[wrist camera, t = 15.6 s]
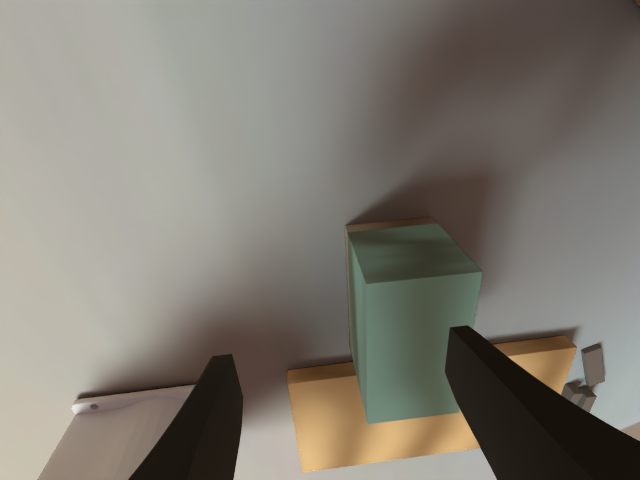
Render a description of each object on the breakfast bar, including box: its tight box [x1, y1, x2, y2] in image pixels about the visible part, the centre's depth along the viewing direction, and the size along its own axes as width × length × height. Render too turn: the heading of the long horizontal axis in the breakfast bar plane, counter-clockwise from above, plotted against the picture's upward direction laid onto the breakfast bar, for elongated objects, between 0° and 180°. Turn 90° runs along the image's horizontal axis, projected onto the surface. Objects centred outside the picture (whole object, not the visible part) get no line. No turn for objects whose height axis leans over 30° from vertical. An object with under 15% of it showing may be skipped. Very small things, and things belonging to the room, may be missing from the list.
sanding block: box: [345, 217, 483, 424], centre depth 20 cm, size 5×9×6 cm, turn 4°
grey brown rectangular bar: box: [561, 384, 583, 404], centre depth 29 cm, size 1×4×1 cm
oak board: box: [287, 335, 577, 473], centre depth 27 cm, size 20×10×1 cm, turn 94°
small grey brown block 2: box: [576, 387, 597, 412], centre depth 29 cm, size 1×4×1 cm
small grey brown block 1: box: [581, 344, 605, 387], centre depth 27 cm, size 1×4×1 cm, turn 25°
